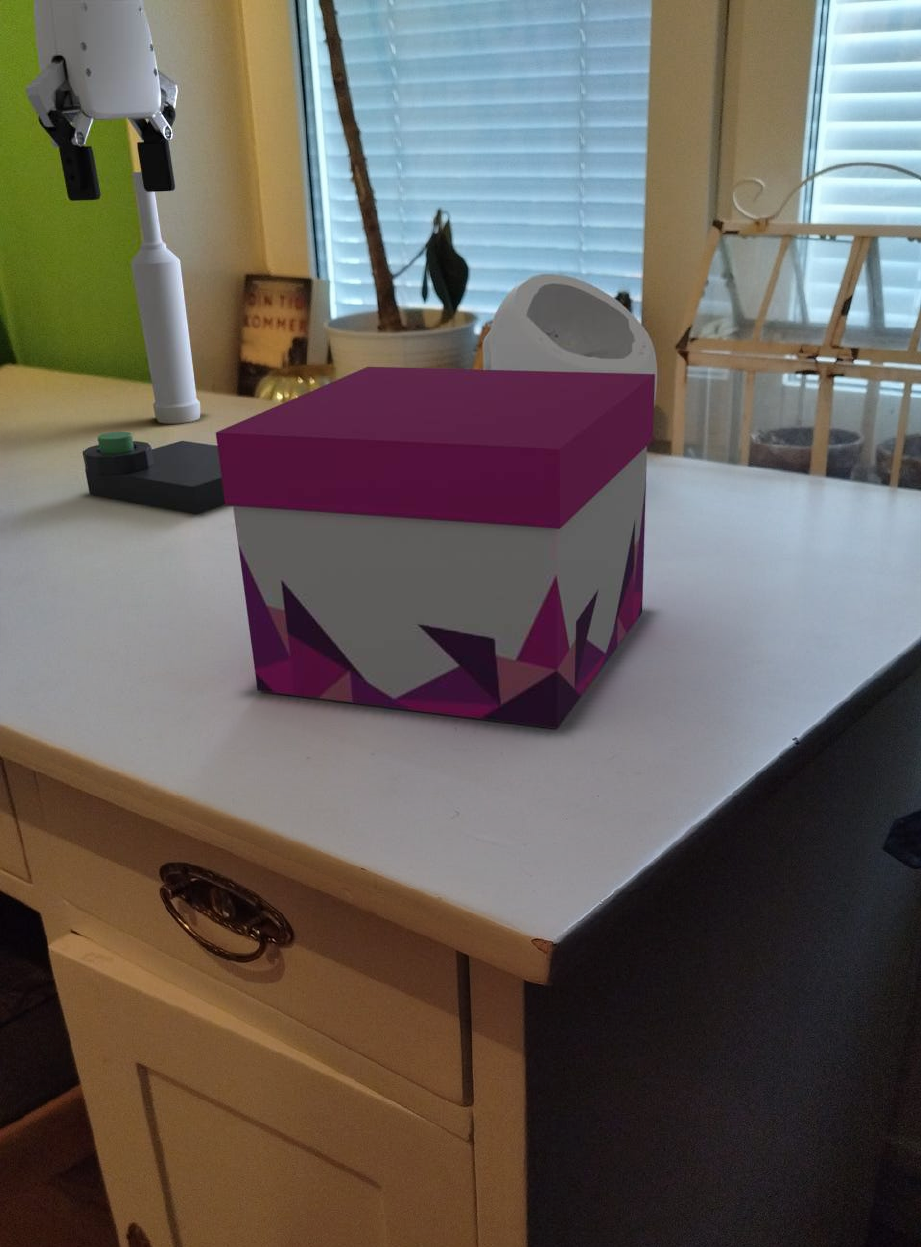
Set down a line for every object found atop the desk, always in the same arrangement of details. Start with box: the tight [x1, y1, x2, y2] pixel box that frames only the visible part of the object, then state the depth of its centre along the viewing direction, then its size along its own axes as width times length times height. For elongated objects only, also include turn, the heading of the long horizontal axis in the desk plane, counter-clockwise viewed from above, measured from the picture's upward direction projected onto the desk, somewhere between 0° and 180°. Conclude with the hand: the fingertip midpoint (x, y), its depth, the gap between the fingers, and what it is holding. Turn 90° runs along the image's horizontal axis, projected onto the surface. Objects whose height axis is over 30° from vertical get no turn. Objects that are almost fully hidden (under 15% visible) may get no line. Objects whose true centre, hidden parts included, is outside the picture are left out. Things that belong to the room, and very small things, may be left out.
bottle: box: [130, 171, 201, 425], centre depth 137 cm, size 5×5×25 cm
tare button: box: [97, 431, 134, 454], centre depth 113 cm, size 3×3×2 cm
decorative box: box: [215, 366, 655, 729], centre depth 75 cm, size 19×19×15 cm
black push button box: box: [82, 440, 226, 515], centre depth 115 cm, size 14×13×4 cm
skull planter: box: [481, 273, 658, 406], centre depth 112 cm, size 14×20×19 cm
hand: (123, 195), depth 111 cm, fingers open, 9 cm apart
